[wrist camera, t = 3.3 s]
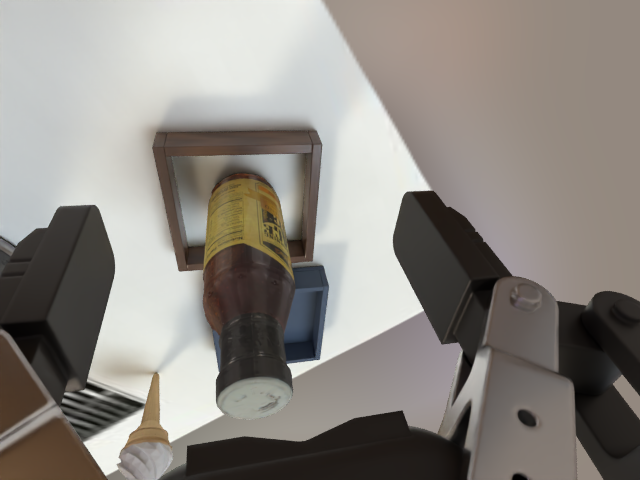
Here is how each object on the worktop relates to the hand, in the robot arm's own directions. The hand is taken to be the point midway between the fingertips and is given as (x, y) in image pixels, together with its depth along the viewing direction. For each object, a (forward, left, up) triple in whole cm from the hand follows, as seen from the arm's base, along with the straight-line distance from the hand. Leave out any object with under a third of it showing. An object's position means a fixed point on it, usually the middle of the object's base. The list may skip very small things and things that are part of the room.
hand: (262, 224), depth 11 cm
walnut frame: (0, -14, -22) cm, 26 cm away
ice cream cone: (-12, -40, -22) cm, 47 cm away
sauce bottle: (0, -14, -22) cm, 26 cm away
